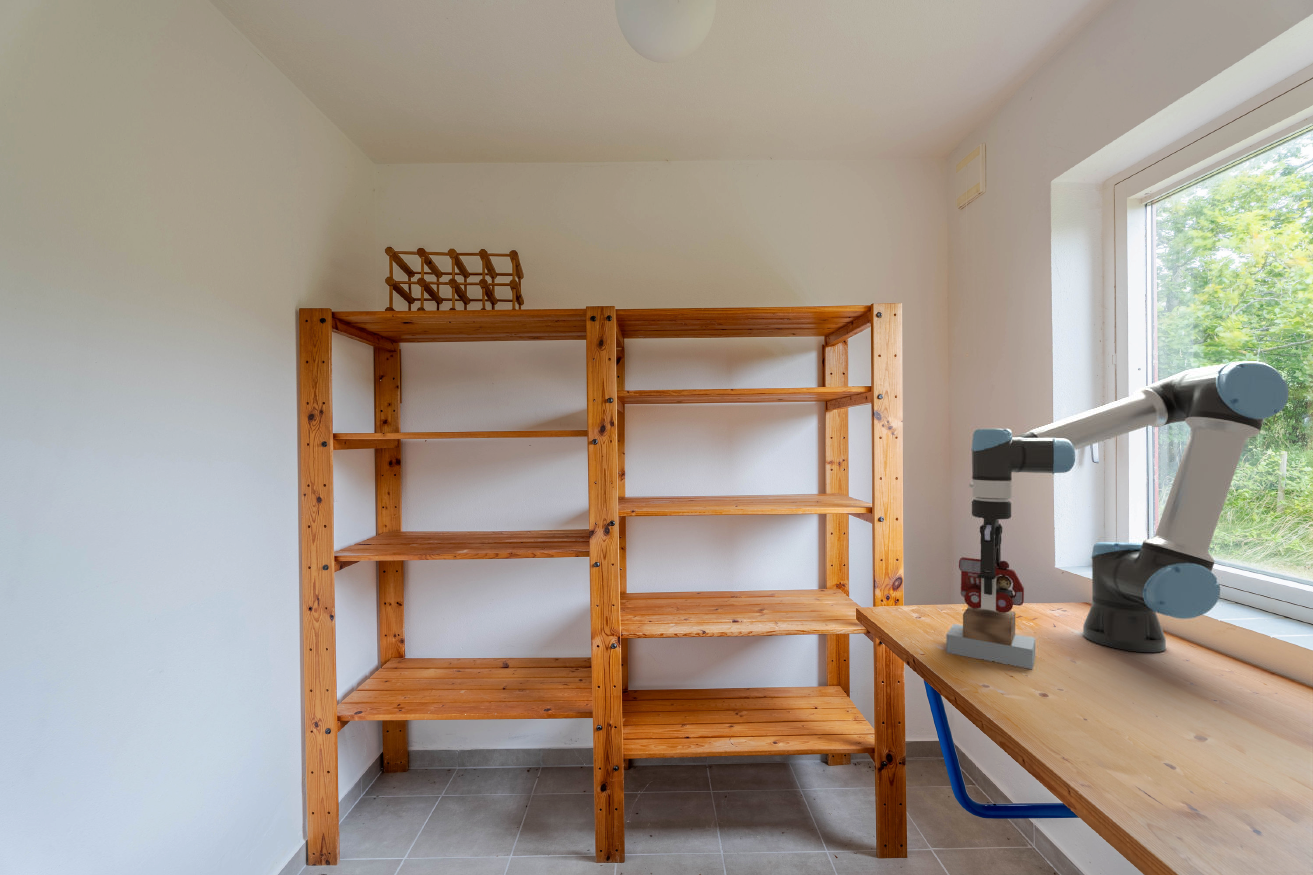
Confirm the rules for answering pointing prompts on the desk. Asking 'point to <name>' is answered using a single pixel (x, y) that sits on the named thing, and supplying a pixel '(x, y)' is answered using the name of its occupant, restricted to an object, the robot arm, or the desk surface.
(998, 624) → the walnut block
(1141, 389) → the robot arm
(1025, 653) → the plinth
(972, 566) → the toy fire truck
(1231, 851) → the desk surface
